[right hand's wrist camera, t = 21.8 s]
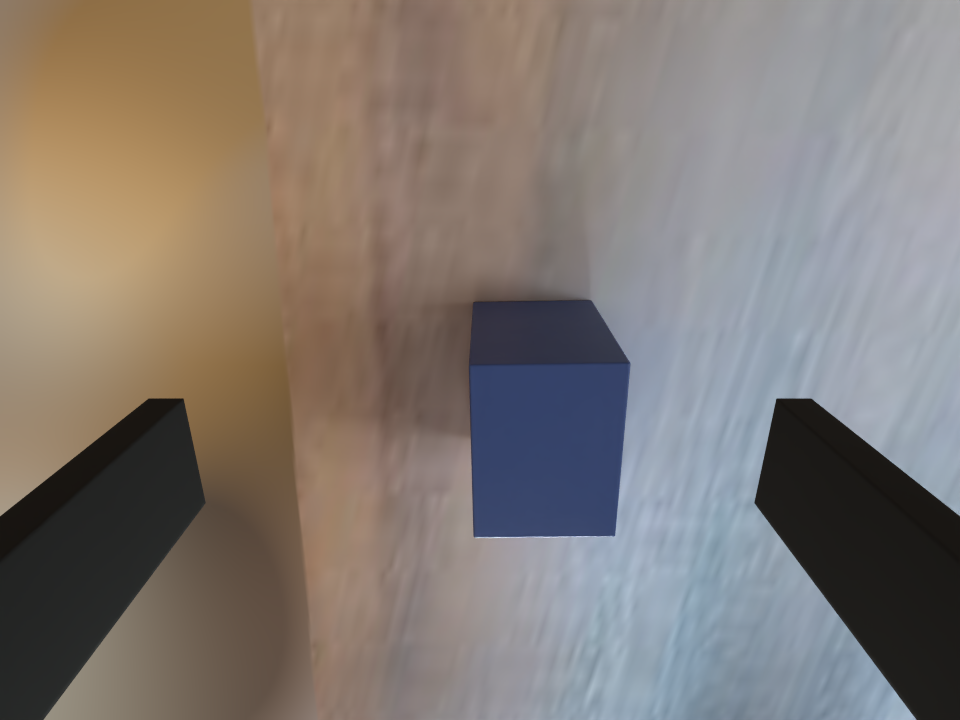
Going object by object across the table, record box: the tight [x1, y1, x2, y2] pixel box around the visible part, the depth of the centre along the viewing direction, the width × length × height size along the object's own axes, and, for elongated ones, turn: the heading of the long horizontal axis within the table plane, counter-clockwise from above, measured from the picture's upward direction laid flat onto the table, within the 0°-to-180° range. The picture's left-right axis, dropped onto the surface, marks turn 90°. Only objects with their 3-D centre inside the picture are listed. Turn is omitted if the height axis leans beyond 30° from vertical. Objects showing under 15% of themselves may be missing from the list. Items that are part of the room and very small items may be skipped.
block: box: [469, 300, 630, 538], centre depth 29 cm, size 9×7×9 cm
